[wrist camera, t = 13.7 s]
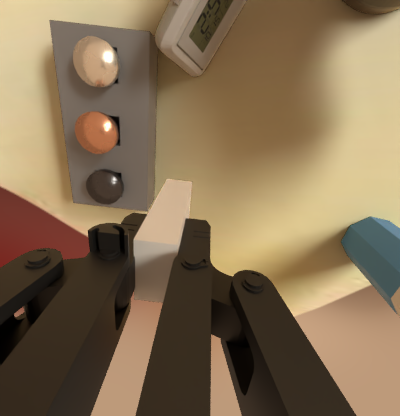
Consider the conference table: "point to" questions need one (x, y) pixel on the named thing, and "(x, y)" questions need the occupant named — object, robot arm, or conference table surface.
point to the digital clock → (195, 31)
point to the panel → (111, 111)
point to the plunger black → (105, 186)
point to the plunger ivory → (96, 61)
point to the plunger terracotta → (97, 132)
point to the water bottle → (377, 256)
